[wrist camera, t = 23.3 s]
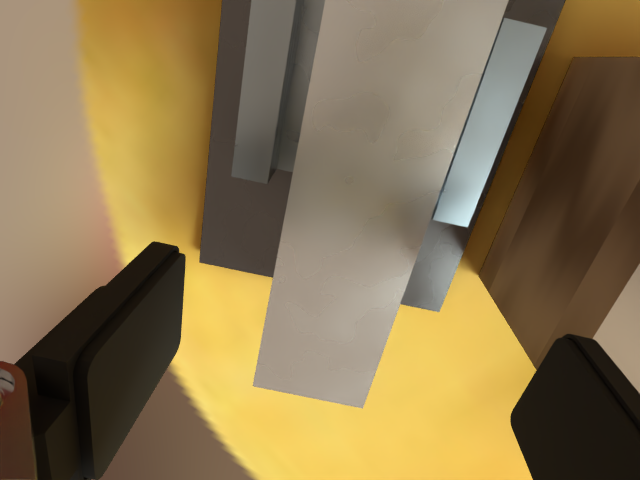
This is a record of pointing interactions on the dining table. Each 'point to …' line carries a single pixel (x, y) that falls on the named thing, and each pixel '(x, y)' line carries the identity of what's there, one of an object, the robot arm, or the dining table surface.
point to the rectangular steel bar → (367, 183)
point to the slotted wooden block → (577, 221)
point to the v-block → (286, 121)
